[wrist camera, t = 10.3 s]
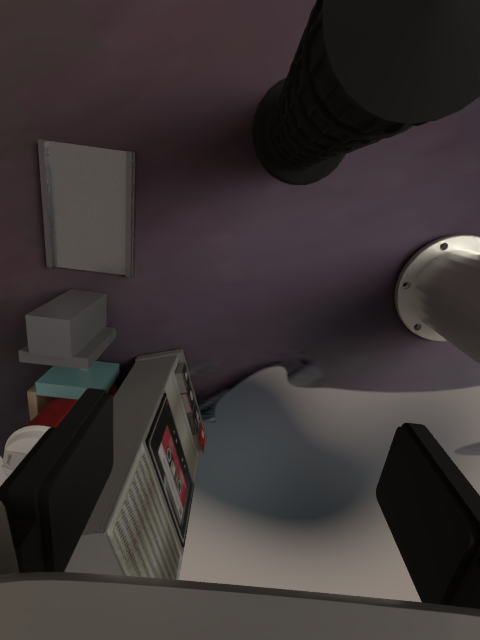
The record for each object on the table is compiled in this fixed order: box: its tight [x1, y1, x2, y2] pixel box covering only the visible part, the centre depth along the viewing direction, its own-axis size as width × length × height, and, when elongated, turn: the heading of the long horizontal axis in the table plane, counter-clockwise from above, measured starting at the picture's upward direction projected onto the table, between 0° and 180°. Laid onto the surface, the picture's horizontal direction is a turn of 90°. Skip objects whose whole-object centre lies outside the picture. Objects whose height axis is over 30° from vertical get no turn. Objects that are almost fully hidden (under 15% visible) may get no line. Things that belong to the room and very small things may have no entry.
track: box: [38, 139, 136, 277], centre depth 37 cm, size 10×13×1 cm
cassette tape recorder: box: [64, 348, 207, 580], centre depth 34 cm, size 14×6×25 cm, turn 11°
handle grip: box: [253, 0, 480, 185], centre depth 23 cm, size 10×26×10 cm
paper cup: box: [3, 382, 117, 477], centre depth 39 cm, size 8×8×14 cm
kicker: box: [18, 289, 119, 399], centre depth 37 cm, size 7×11×9 cm, turn 173°
